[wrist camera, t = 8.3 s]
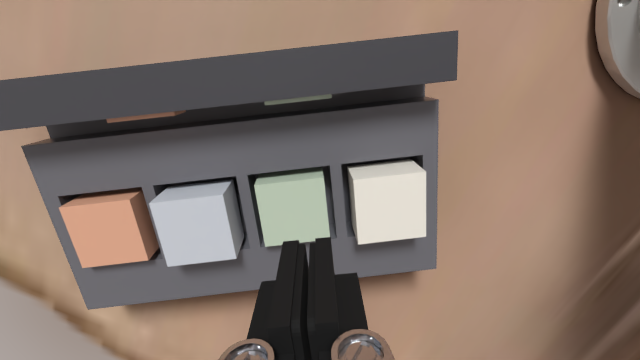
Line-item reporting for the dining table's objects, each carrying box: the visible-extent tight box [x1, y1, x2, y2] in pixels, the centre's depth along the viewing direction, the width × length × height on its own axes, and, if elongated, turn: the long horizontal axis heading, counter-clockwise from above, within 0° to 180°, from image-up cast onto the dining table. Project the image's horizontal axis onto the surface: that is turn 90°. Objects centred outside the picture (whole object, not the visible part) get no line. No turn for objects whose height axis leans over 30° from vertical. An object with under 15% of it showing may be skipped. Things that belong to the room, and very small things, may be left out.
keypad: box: [0, 31, 458, 310], centre depth 18 cm, size 21×13×6 cm, turn 96°
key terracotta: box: [59, 187, 159, 268], centre depth 18 cm, size 4×4×2 cm
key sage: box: [254, 166, 330, 247], centre depth 19 cm, size 4×4×2 cm
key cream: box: [347, 159, 426, 245], centre depth 18 cm, size 4×4×2 cm
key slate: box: [149, 179, 244, 267], centre depth 18 cm, size 4×4×2 cm
